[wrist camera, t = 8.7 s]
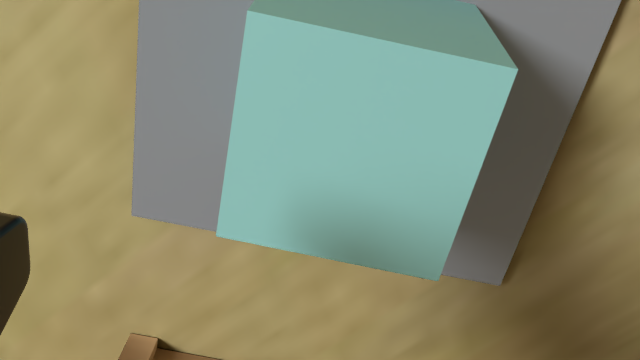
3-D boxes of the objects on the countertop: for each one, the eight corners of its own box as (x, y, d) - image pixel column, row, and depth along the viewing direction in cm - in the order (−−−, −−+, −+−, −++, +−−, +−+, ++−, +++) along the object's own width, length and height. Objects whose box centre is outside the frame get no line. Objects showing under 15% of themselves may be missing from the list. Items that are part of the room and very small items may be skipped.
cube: (253, 138, 18) (215, 235, 13) (281, -39, 15) (247, 10, 11) (420, 173, 18) (438, 281, 13) (475, 4, 15) (518, 69, 11)
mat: (135, 208, 20) (131, 215, 19) (152, -233, 14) (147, -234, 13) (497, 278, 20) (500, 285, 20) (665, -123, 14) (673, -122, 14)
